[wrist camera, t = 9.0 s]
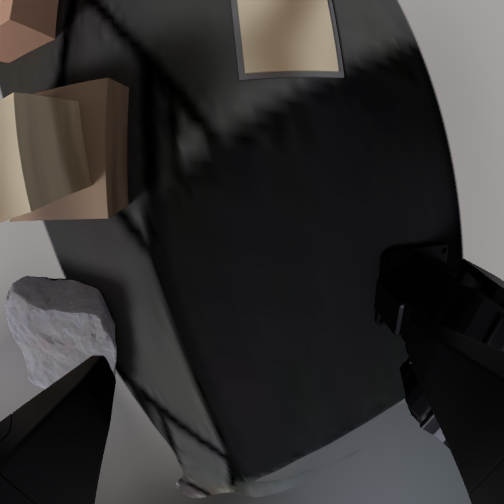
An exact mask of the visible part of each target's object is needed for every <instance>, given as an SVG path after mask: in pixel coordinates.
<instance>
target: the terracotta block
mask: <svg viewBox="0 0 504 504" xmlns="http://www.w3.org/2000/svg"><path fill="white" fill-rule="evenodd" d="M58 1H59V0H0V61H1V62H6V63H10V62H12V61H13V60H15V59H17V58H19V57H21V56H22V55H24V54H26V53H28V52H30V51H32V50H34V49H36V48H38V47H40V46H42V45H44V44H46V43H48V42H50V41H52V40H54V39H55V32H56V19H57V9H58Z"/></svg>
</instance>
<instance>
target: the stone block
mask: <svg viewBox="0 0 504 504" xmlns="http://www.w3.org/2000/svg"><path fill="white" fill-rule="evenodd" d="M5 307H6V318H7V321H8V324H9V327H10V329H11V332H12V334H13V337H14V339H15V341H16V342H17V343H18V345H19V346H20V348H21V349H22V351H23V353H24V358H25V361H26V364H27V369H28V377H29V380H30V381H31V382H32V383H33V384H34V385H37V386H39V387H42V388H44V389H46V388H48V387H49V386H50V385H52V384H53V383H54V382H56V381H57V380H59V379H60V378H61V377H63V376H64V375H66V374H67V373H68V372H70V371H71V370H73V369H74V368H75V367H77V366H78V365H80V364H81V363H82V362H84V361H85V360H86V359H88V358H89V357H91V356H93V355H103V356H105V357H106V358H107V360H108V362H109V365H110V367H111V369H112V371H113V373H114V375H115V373H116V372H115V366H116V361H117V359H116V355H117V346H116V342H115V323H114V321H113V320H112V318H111V315H110V312H109V310H108V307H107V305H106V303H105V300H104V298H103V296H102V295H101V293H100V291H99V290H98V289H96V288H94V287H92V286H88V285H85V284H83V283H81V282H79V281H75V280H66V279H62V278H58V279H53V278H47V277H30V276H26V277H23V278H21V279H19V280H18V281H16V282H14V283H13V284H12V286H11V289H10V291H9V292H8V295H7V297H6V300H5Z"/></svg>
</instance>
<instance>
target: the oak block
mask: <svg viewBox="0 0 504 504" xmlns="http://www.w3.org/2000/svg"><path fill="white" fill-rule="evenodd" d="M90 186H92V183H91V178H90V173H89V168H88V162H87V157H86V151H85V145H84V139H83V132H82V125H81V117H80V108H79V102H78V101H72V100H66V99H60V98H53V97H46V96H39V95H31V94H23V93H12V94H10V95H8V96H7V97H5V98H4V99H2V100H0V222H3V221H5V220H8V219H11V218H14V217H17V216H20V215H23V214H26V213H29V212H32V211H34V210H36V209H38V208H41V207H43V206H45V205H47V204H50V203H52V202H54V201H56V200H59V199H61V198H63V197H66V196H68V195H70V194H73V193H75V192H78V191H80V190H83V189H85V188H88V187H90Z"/></svg>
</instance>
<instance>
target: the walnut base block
mask: <svg viewBox="0 0 504 504" xmlns="http://www.w3.org/2000/svg"><path fill="white" fill-rule="evenodd" d="M32 95H39V96H46V97H53V98H60V99H66V100H72V101H78V102H79V108H80V117H81V125H82V132H83V139H84V145H85V151H86V157H87V162H88V168H89V173H90V178H91V183H92V186H90V187H88V188H85V189H83V190H80V191H78V192H75V193H73V194H70V195H68V196H66V197H63V198H61V199H59V200H56V201H54V202H52V203H50V204H47V205H45V206H43V207H41V208H38V209H36V210H34V211H32V212H29V213H26V214H23V215H20V216H17V217H14V218H11V219H10V221H30V220H31V221H33V220H64V219H108V218H110V217H111V216H113V215H114V214H116V213H117V212H119V211H120V210H122V209H123V208H125V207H126V206H128V205H129V202H128V176H127V125H128V100H129V87H127V86H125V85H123V84H121V83H118V82H116V81H114V80H112V79H110V78H103V79H97V80H92V81H86V82H81V83H76V84H72V85H67V86H63V87H58V88H54V89H50V90H47V91H43V92H39V93H36V94H32Z"/></svg>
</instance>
